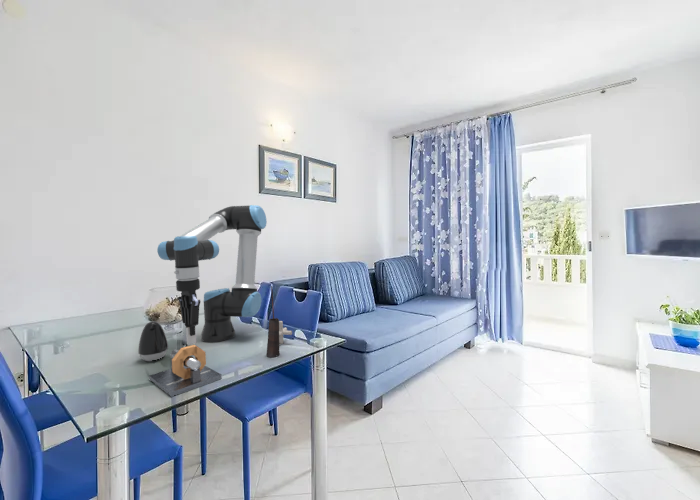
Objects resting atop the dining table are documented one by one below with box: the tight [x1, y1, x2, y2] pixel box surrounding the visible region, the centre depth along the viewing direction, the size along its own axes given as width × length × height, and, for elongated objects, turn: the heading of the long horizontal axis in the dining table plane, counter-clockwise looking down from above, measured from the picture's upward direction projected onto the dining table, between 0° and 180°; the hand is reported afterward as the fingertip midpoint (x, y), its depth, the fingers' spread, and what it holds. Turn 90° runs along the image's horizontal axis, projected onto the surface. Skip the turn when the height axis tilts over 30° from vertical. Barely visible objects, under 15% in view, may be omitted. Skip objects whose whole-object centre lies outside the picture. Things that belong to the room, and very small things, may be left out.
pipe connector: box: [279, 320, 293, 345], centre depth 144 cm, size 10×10×10 cm
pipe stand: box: [148, 349, 222, 398], centre depth 109 cm, size 19×16×9 cm
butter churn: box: [266, 285, 281, 358], centre depth 129 cm, size 9×10×28 cm
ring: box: [171, 344, 207, 379], centre depth 107 cm, size 2×10×10 cm, turn 139°
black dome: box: [137, 320, 169, 362], centre depth 128 cm, size 10×10×15 cm
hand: (191, 343), depth 117 cm, fingers closed
